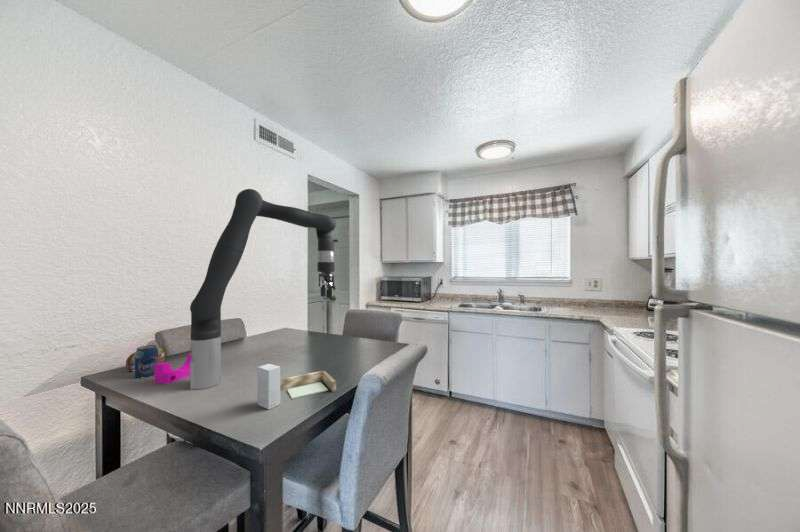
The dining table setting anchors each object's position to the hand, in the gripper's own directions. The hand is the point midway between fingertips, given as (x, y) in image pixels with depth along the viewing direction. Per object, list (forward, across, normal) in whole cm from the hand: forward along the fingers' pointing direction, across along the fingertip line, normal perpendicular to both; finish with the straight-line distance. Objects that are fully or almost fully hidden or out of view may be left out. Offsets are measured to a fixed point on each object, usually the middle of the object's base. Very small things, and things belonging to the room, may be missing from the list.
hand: (326, 297), depth 131 cm
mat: (+30, +25, -15) cm, 42 cm away
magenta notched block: (+30, -15, -54) cm, 63 cm away
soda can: (+30, -22, -65) cm, 75 cm away
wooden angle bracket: (+30, +25, -15) cm, 42 cm away
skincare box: (+30, +29, -28) cm, 50 cm away
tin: (+30, -35, -67) cm, 81 cm away
